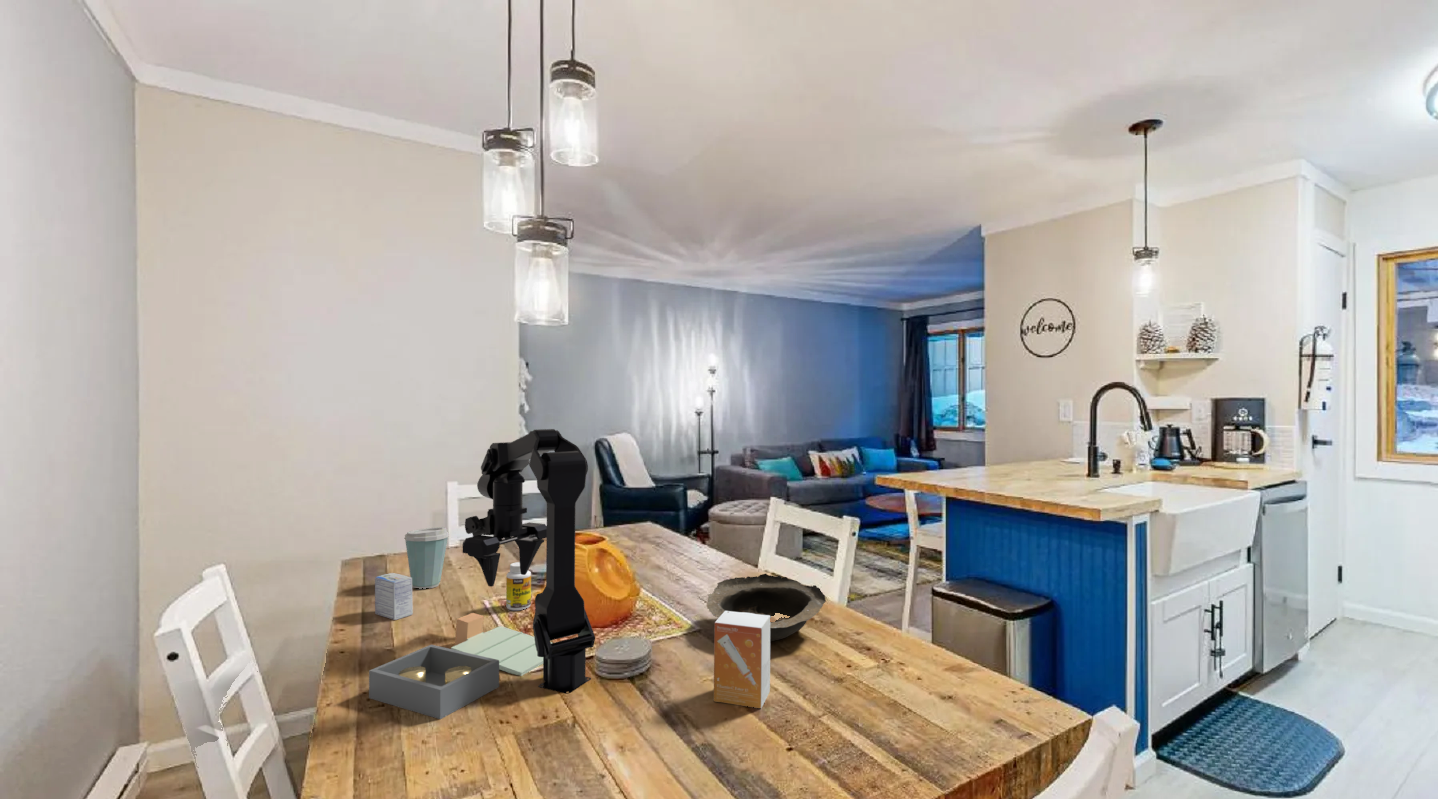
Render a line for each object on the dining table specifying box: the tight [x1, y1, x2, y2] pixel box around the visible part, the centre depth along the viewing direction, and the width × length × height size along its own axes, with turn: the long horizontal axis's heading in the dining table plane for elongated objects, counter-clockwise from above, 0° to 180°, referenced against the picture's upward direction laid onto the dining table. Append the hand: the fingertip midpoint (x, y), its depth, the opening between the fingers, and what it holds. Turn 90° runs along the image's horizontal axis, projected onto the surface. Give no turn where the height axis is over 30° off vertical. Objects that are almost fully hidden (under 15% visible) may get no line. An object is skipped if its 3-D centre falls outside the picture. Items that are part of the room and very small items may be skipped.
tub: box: [368, 644, 500, 720], centre depth 104 cm, size 16×12×5 cm
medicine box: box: [374, 572, 414, 621], centre depth 143 cm, size 8×4×9 cm, turn 58°
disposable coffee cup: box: [404, 526, 450, 590], centre depth 165 cm, size 11×11×15 cm
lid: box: [450, 612, 553, 677], centre depth 120 cm, size 20×12×6 cm, turn 65°
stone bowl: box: [706, 573, 827, 642], centre depth 133 cm, size 25×25×9 cm
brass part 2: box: [445, 666, 471, 684], centre depth 104 cm, size 4×4×4 cm
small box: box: [713, 611, 771, 709], centre depth 103 cm, size 8×6×13 cm
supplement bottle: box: [505, 561, 532, 611], centre depth 148 cm, size 6×6×10 cm
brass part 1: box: [399, 666, 426, 683], centre depth 103 cm, size 4×4×4 cm
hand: (507, 580), depth 128 cm, fingers open, 9 cm apart
